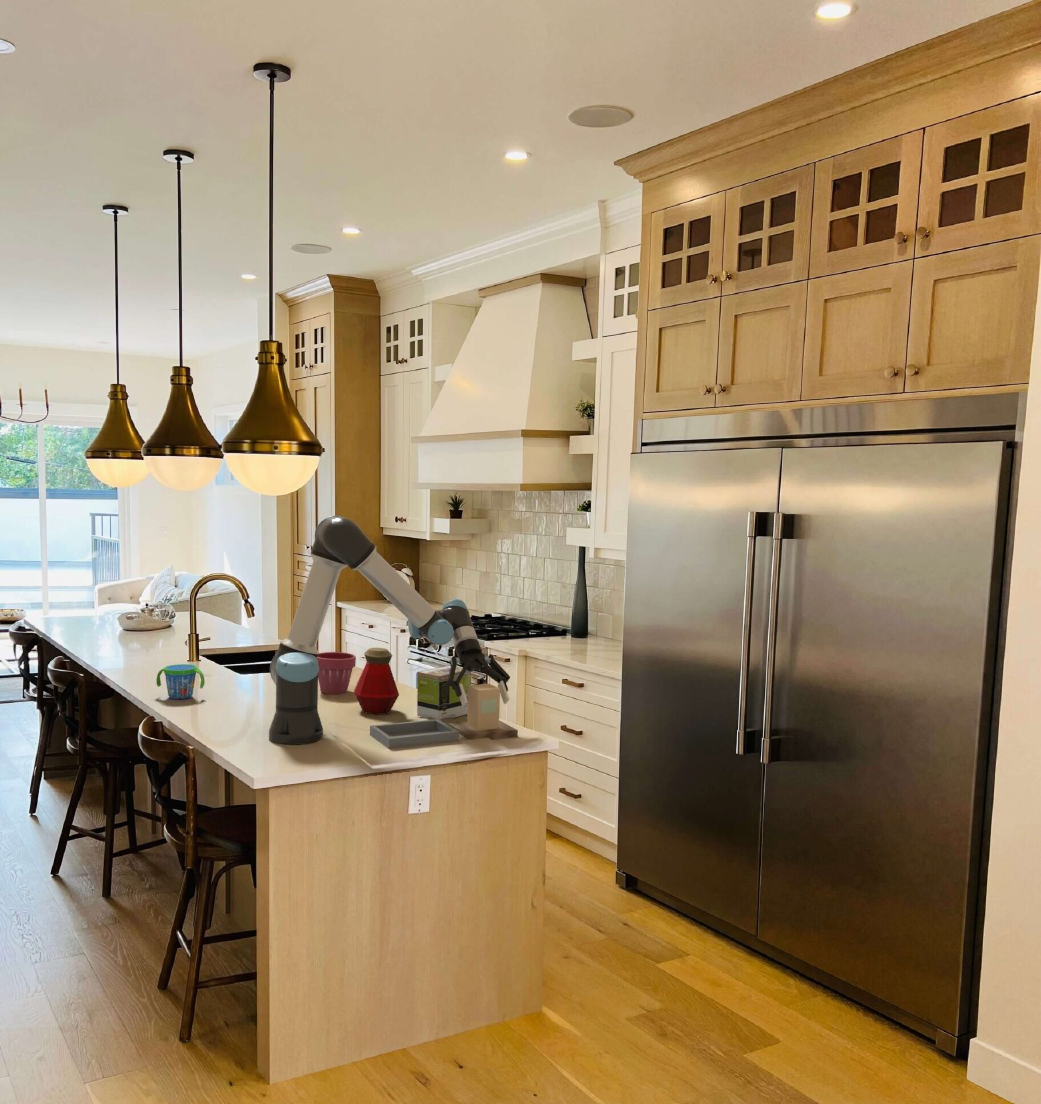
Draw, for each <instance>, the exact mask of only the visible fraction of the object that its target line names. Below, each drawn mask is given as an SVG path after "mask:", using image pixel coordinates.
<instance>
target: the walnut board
mask: <svg viewBox="0 0 1041 1104" xmlns="http://www.w3.org/2000/svg"><path fill="white" fill-rule="evenodd" d="M448 726H450V727H452V728H454V729H455V730H457V731H459V736H462V737H464V738H465V739H467V740H474V739H475V740H476V739H485V738H488V739H489V740H499V738H501V739H509V738H516V737H517V738H518V736H519V735H518V734H519V733H518V732H519V731H518V729H517V728H515V727H513V726H511V725H509V724H507V723H505V722H503V721H501V720H499V729H489V730H480V731H477V730H475V729H473V728H472V727H470V726H468V725H467V721H462V722H452V723H451V722H450V723H448Z"/></svg>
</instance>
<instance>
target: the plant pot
mask: <svg viewBox="0 0 1041 1104" xmlns="http://www.w3.org/2000/svg"><path fill="white" fill-rule="evenodd" d="M317 660H318V666H319V672H318V686H319V689H320V690H319V691H320V693H322V694H325V695H326V694H327V695H341V694H346V693H347V692H348V689H349V685H350V682H351V677H352V674H353V673H352V672H353V669H354V668H355V667H356V665H357V664H356V662H357V659H356V655H355V654H353V653H350V652H349V653H348V652H343V651H342V652H341V651H325V652H319V653H318V656H317Z"/></svg>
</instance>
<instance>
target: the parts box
mask: <svg viewBox="0 0 1041 1104" xmlns="http://www.w3.org/2000/svg"><path fill="white" fill-rule="evenodd" d="M500 697H501V694H500V688H498V686H496V685H493V684H491V683H484V684H483V683H482V684H471V685H468V714H466V716H467V718H466V722H467V725H468V726H470V727H472V728H473V729H475V730H477V731H480V730H489V729H499V721H500Z"/></svg>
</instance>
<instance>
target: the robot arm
mask: <svg viewBox="0 0 1041 1104" xmlns="http://www.w3.org/2000/svg"><path fill="white" fill-rule="evenodd" d="M310 556H311V559H312V564H311V567H310V570H309V573H308V576H307V578H306V579H307V580H306V582H305V584H304V588H303V590H302V594H301V597H300V599H299V602H298V606H297V608H296V612H295V613H294V618H293V621H292V623H291V626H290V629H289V633H288V635H287V637H286V638H284V639H282V640H280V643H279V645H278V649H277V651H276V654H275V655H274V656H272V657H273V658H272V660H271V662H270V666H269V672H270V673H269V674H270V678H271V679H272V681H273V683H274V684H275V712H274V715H273V718H272V721H271V724H270V727H269V730H268V740H270V741H271V742H274V743H276V744H277V743H278V744H282V745H304V744H305V745H306V744H310V743H311V744H312V743H315V742H316V743H317V742H318V741H321V740H322V739H324V728H323V724H322V720H321V717H320V714H319V710H318V704H319V701H318V699H319V698H318V697H319V694H318V693H319V680H318V672H319V666H318V660H317V656H318V653H320V652H319V651H318V648H317V642H318V640H319V637H320V633H321V630H322V627H323V625H324V622H325V619H326V616H327V613H328V610H329V606H330V604H331V602H332V598H333V595H334V593H335V590H336V587H337V583H338V580H339V578H340V575H341V571H342V570H343V569H345V568H347V567H349V568H350V569H351V570H352V571H358V572H359V573H360V574H361V575H362V577H364V578H366V580H367V581H368V582H369V584H371V585H373V586H374V588H375V589H377V591H379V593H381V594H382V595H383V597H384V598H386V599H387V600H388V602H390V603H391V604H392V605H393V606H395V608H396V609H397V610H398V611H399V612H400V613H401V614H402V615H403V616H404V617H406V618H407V626H408V633H409V635H410V637H412V639H422V638H426V639H427V640H429V641H430V642H431V643H432V644H434V645H438V646H443V645H447V644H448V643H450V642H451V640H452V643H453V646H454V648H455V649H454V650H455V652H456V655H457V657H456V656H455V655H453V656H452V657H451V659H450V660H449V664H450V666H451V667H450V672H449V676H448V681H447V686H448V687H450V686H451V687H452V689H453V690H455V693H456V696H457V697H460V700H461V704H462V707H466V705H467V703H468V701H467V698H466V694H465V691H464V688H463V685H462V684H459V682H460V681H461V679H462V677H463V675H464V673H465V672H466V670H468V671H469V672H471V673H472V672H479V671H480V672H481V673H484V674H485V675H487V676H488V677H490V678H491V679H492V680H493V681H494V682H496V683H497V687H498V688H500V697H501V699H502V702H503V704H504V705H507V703H508V702H509V701H510V697H509V694H508V691H509V687H508V685H507V683H508V682H509V680H510V678H511V676H510V675H509V674H508V672H507V671H506V670H505V669H504V668H503V667H502V666H501V665H500V664H499V663H498V661H497V660H496V659H495V658H494V655H493V654H491V653H490V654H488V655H487V656H484V655H483V652H482V648H481V645H480V642H479V640H478V639H479V638H478V636H477V633H476V630H475V628H474V624H473V622H472V619H471V615H470V612H469V609H468V607H467V604H466V603H465V601H464V600H462V599H457V598H455V599H451V600H450V601H447V602H444V604H443V606H442V609H438V610H435V608H434V607H433V606H432V605H431V604H430V603H429V602H428V601H427V600H426V599H425V598H424V597H423V596H422V595H421V594H420V593H419V592H418V591H417V590H416V589H415V588H413V586H412V585H411V584H410V583H409V582H408V581H407V580H406V579H405V578H404V577H403V576H401V574H400V573H399V572H398V571H396V570H395V568H394V567H393V566H391V565H390V563H388V562H387V560H385V558H383V557H382V556H381V554H379V553H378V551H377V546H376V545H375V544H374V543H373V542H372V540H371V539H369V537H368V536H367V535H366V534H365V533H364V531H363V530H362V528H361V527H360V526H359V525H358V524H357V523H356V522H355V521H354V520H352V519H350V518H347V517H344V516H341V515H331V516H327V517H326V518H324V519H322V520H321V521H320V522H319V523H318V525H317V527H316V529H315V532H314V542H313V545H312V547H311V551H310ZM457 665H460V666H462V668H463V669H462V670H461V672H460V674H459V676H458V678H457V679H456V681H453V679H454V675H455V670H456V667H457Z"/></svg>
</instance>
